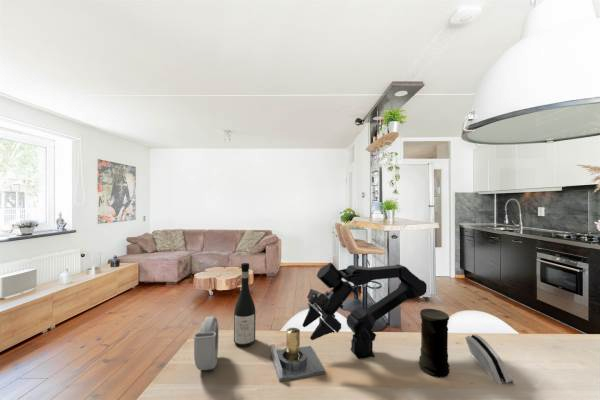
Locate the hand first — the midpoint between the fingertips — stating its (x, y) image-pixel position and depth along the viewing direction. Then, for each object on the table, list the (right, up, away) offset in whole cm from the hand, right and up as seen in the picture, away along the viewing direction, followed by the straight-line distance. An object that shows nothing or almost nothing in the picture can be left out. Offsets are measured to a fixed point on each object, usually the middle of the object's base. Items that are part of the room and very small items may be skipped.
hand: (306, 332), depth 92 cm
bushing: (-5, -9, -1) cm, 10 cm away
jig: (-3, -10, -1) cm, 10 cm away
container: (+41, -10, -4) cm, 42 cm away
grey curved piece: (+59, -11, -3) cm, 60 cm away
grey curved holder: (-32, -10, -3) cm, 34 cm away
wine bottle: (-23, -10, +12) cm, 28 cm away
